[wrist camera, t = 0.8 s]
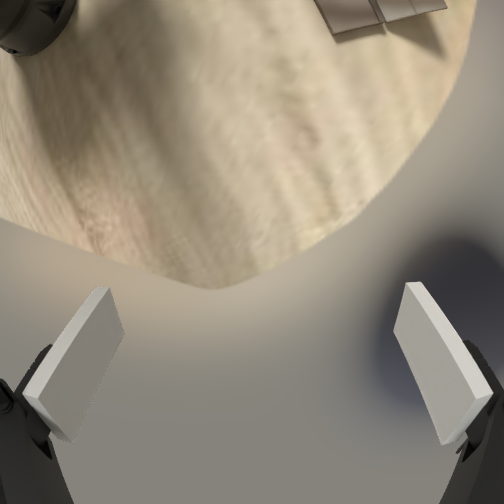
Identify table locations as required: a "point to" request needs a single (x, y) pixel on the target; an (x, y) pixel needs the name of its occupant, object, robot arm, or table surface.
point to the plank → (408, 8)
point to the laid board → (349, 14)
